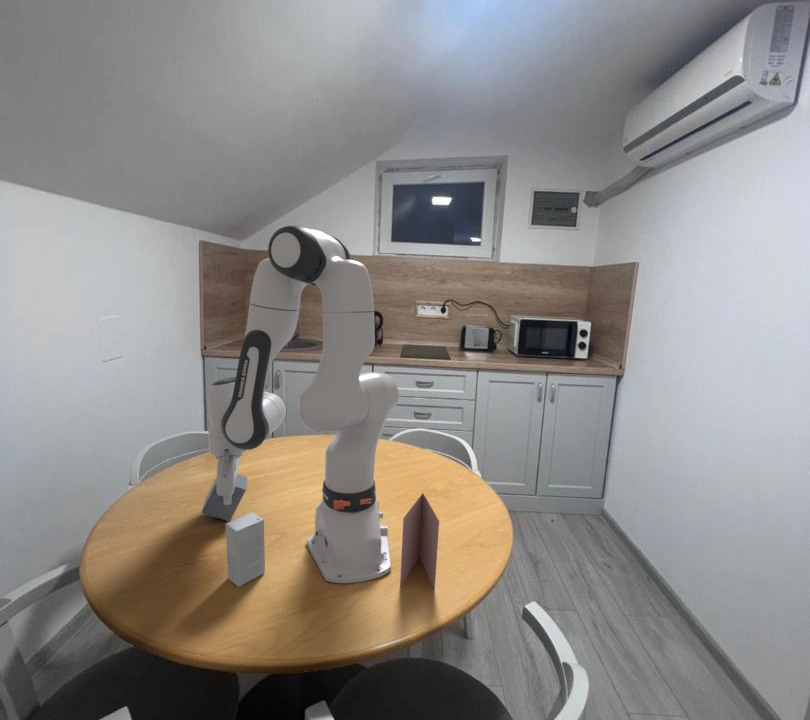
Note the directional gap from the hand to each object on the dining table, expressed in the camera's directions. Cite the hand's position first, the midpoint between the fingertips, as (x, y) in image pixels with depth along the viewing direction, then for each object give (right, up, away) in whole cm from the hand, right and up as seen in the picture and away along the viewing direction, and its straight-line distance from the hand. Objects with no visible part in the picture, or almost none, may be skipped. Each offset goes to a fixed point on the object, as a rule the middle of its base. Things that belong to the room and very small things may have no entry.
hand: (229, 495), depth 108 cm
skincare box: (+12, -10, -21) cm, 26 cm away
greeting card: (+48, -11, -18) cm, 52 cm away
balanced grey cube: (-3, -4, 0) cm, 5 cm away
